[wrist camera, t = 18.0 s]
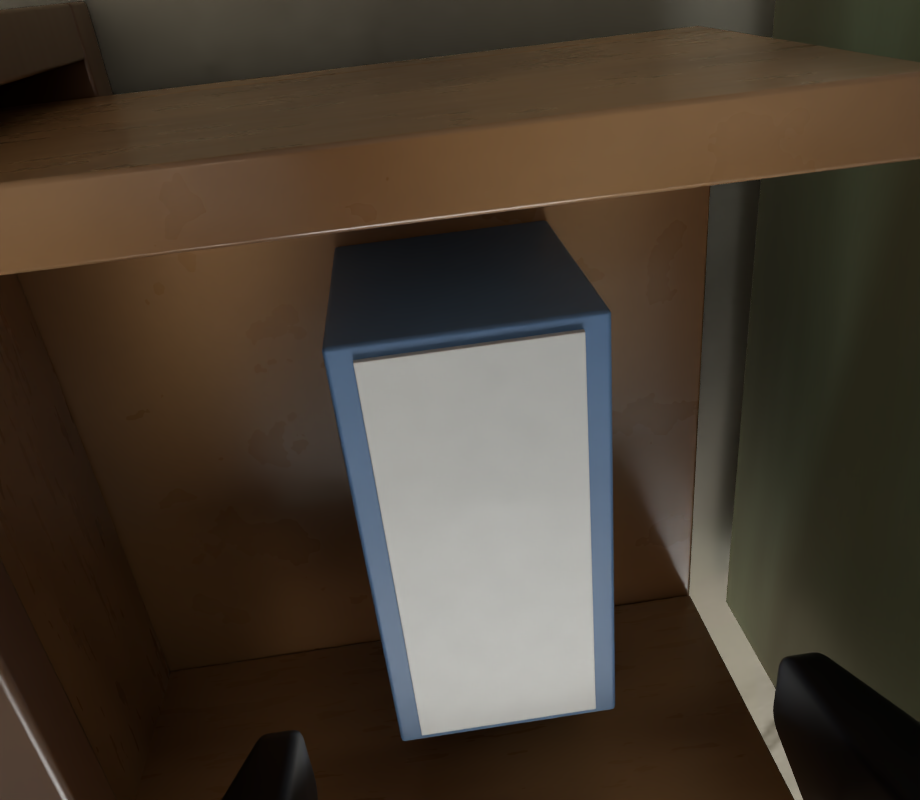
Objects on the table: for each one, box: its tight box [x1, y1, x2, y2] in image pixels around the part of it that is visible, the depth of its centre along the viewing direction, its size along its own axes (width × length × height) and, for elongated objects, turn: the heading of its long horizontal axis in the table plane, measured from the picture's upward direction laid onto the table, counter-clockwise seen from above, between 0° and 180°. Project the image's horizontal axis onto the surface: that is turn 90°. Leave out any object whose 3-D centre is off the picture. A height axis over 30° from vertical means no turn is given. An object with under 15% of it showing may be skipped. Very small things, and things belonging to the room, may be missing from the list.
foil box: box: [322, 220, 615, 741], centre depth 13 cm, size 7×4×4 cm, turn 6°
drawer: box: [0, 0, 920, 800], centre depth 13 cm, size 19×13×7 cm
